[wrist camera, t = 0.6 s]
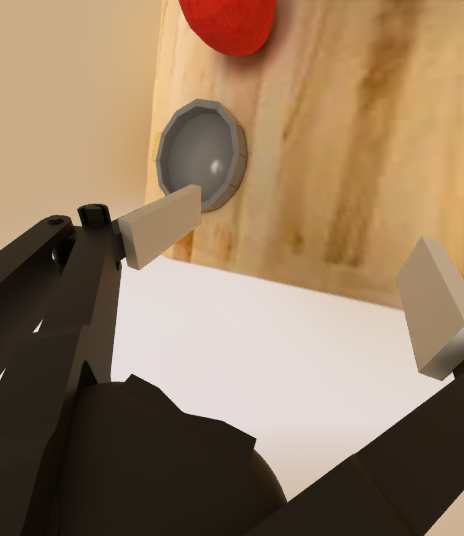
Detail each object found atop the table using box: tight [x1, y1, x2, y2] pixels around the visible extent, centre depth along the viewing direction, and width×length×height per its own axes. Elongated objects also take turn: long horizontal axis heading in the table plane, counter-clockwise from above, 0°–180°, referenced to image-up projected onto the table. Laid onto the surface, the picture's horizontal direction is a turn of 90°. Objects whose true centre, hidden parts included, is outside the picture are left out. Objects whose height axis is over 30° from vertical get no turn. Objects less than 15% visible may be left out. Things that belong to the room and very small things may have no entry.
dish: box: [151, 99, 247, 212], centre depth 41 cm, size 17×18×3 cm
